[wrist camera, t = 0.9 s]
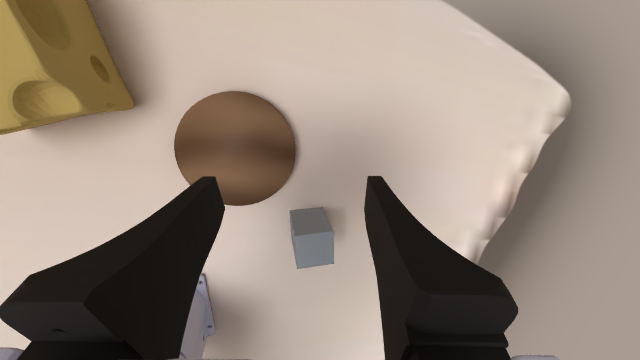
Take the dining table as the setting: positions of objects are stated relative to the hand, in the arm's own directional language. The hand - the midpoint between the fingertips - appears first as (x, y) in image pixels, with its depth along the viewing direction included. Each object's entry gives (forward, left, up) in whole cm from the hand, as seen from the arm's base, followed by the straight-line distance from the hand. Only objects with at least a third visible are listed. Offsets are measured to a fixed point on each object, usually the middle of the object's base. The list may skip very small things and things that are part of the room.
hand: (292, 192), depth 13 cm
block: (-12, -3, -18) cm, 22 cm away
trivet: (-2, +4, -18) cm, 19 cm away
